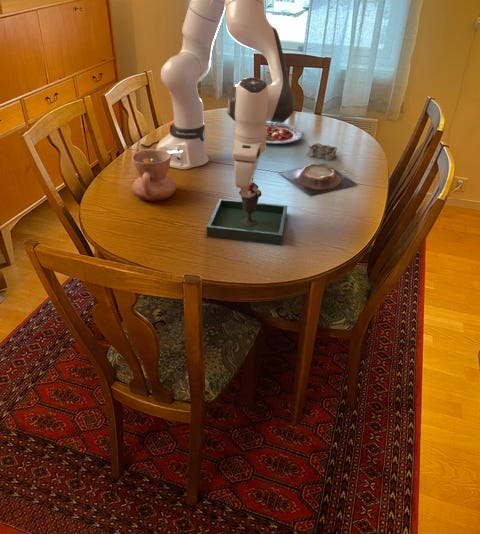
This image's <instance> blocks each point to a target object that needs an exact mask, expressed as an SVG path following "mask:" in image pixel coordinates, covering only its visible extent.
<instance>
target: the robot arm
mask: <svg viewBox="0 0 480 534" xmlns="http://www.w3.org/2000/svg"><path fill="white" fill-rule="evenodd" d="M223 17H224V18H225V26H226V30H227V33H228V34H229V36H230V37H231V38H232V39H233V40H234V41H235V42H236V43H238V44H239V45H240V46H244V47H246V48H249V49H250V50H253V51H256V52H257V53H259V54H260V55H262V56H263V57H264V58H265V59H266V61H267V64H268V68H269V73H270V78H271V84H267V82H266V81H264V79H261V78H258V77H245V78H243V79H241V80H240V81H239V82H238V84H235V85H234V86H233V87H232V88H231V89H230V90H229V91H228V92H227V98H228V103H227V111H226V112H227V115H228V116H229V117H230V118H231V119H232V120H233V121H234V122H235V127H234V130H233V149H232V159H233V160H234V184H235V187H236V188H237V189H240V190H241V195H240V197H241V196H242V197H247V195H248V188H249V186H250V184H251V183H253V182H254V178H255V177H254V176H255V173H256V170H257V167H258V165H259V163H260V162H259V161H260V158H261V155H262V154H263V153H265V151H266V149H267V146H266V145H267V143H266V136H267V130H266V122H275V123H283V124H284V122H285V121H287V120H288V119H289V118H290V117H291V116H292V115H293V113H294V110H295V109H294V108H295V99H294V94H293V90H292V87H291V84H290V81H289V76H288V73H287V66H286V62H285V56H284V51H283V47H282V42H281V39H280V35H279V33H278V30H277V29H276V28H275V27H274V26H272V25H271V24H270V22H269V20H268V18H267V16H266V12H265V0H190V2H189V5H188V8H187V11H186V14H185V18H184V22H183V23H182V27H181V32H182V44H181V45H182V46H181V49H180V51H179V52H178V53H177V54H175V55H173V56H171V57H170V58H168V59H167V61H165V63H164V64H163V65H162V66H161V70H160V80H161V82H162V83H163V85H164V87H166V88H167V90H168V93H169V96H170V99H171V103H172V113H173V120H172V121H171V122H170V125H169V127H168V134H166V135H165V136H164V137H162V138H160V139H157V141H153V142H152V143H150V144H148V145H146V144H144V143H140V146H141V147H144V148H146V149H149V148H151V147H153V146H154V145H156V144H157V145H156V148H155V149H156V150H159V149H161V150H165V151H167V152H169V153H170V155H171V160H170V166H169V168H174V169H179V170H188V169H191V168H196V167H200V166H203V165H206V164H207V163H208V162H209V161H210V159H209V155H208V153H207V152H208V151H207V146H206V124H205V123H204V115H205V114H204V102H203V100H202V99H201V98H200V94H199V90H198V83H200V82H201V81H203V80H204V79H205V78H206V77H207V76H208V74H209V72H210V70H211V66H212V65H211V58H212V51H213V47H214V42H215V40H216V37H217V33H218V31H219V29H220V25H221V23H222V19H223ZM152 160H153V159H150V162H151V161H152Z"/></svg>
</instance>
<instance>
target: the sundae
mask: <svg viewBox="0 0 480 534" xmlns="http://www.w3.org/2000/svg"><path fill="white" fill-rule="evenodd" d="M262 194H263V193H262V191H261V190H260V189H259V186H258V185H257V184H256V183H255V182H254V181H253V182H252V183H250V186H249V188H248V195H247V197H242V196H241V189H240V190H239V191H238V195H240V198H241V201H242V206H243V210H244V211H245V212H247V218H245V219H242V220H241V224H242V225H244V226H249V227H250V226H254V225H256V224H257V221H256V220H255V219H253V218H251V213H252V212H254V211H255V210H256V207H257V203H259V198H261V197H262Z"/></svg>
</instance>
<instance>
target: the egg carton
mask: <svg viewBox="0 0 480 534" xmlns="http://www.w3.org/2000/svg"><path fill="white" fill-rule="evenodd" d="M337 149H338V146H331V145H329V144H328V145H326V144H321V143H320V142H316V143H313V144H312V145H309V146H308V156H310V157H311V158H313V157H317V158H318V159H325V160H326V161H330V160H333V159H334V157H336V156H337V155H336V154H337Z"/></svg>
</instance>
